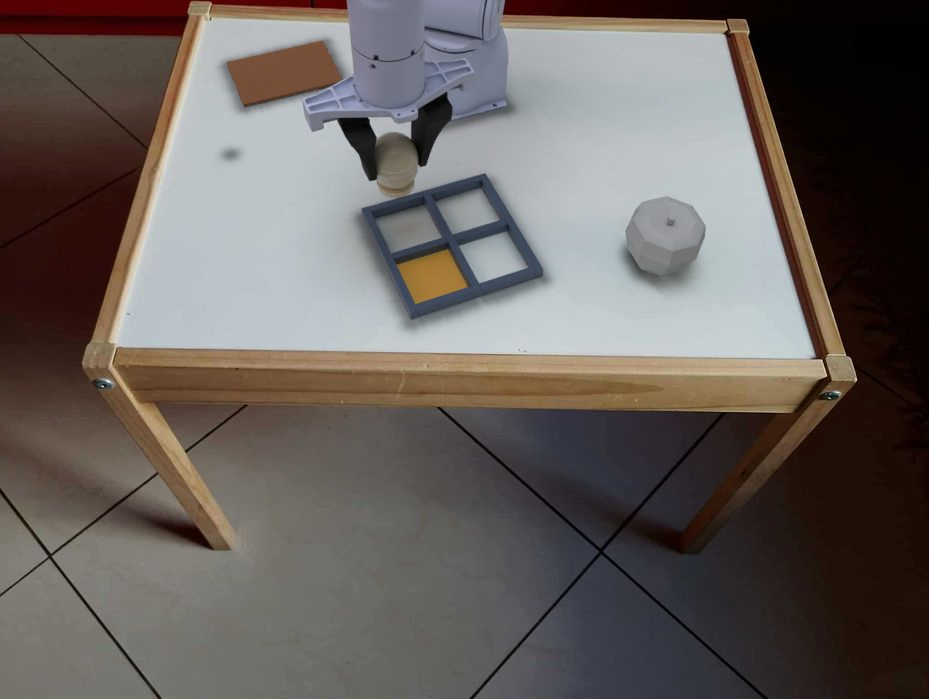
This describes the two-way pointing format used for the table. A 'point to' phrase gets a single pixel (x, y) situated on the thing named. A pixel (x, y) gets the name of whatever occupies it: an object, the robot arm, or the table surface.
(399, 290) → the holder
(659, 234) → the apple
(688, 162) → the table surface
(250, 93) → the mat
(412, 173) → the beige domed knob
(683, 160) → the table surface
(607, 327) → the table surface
